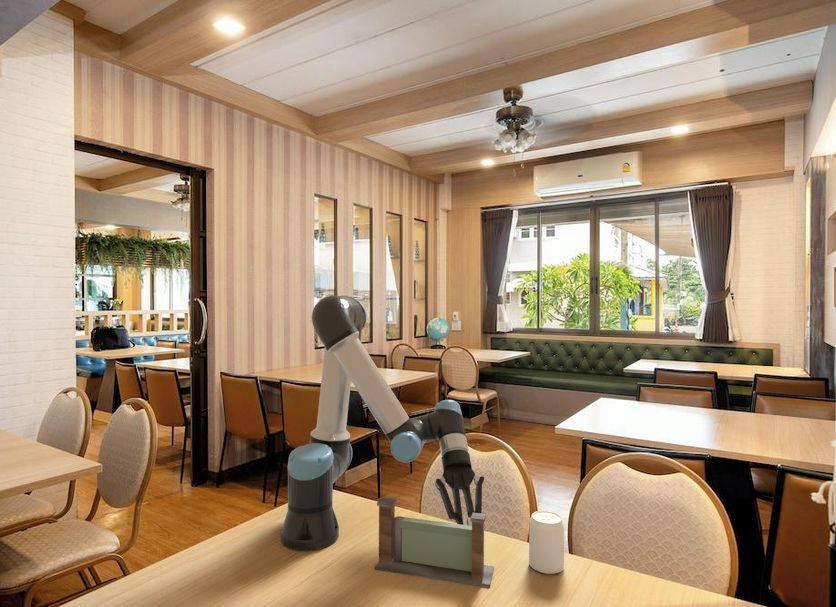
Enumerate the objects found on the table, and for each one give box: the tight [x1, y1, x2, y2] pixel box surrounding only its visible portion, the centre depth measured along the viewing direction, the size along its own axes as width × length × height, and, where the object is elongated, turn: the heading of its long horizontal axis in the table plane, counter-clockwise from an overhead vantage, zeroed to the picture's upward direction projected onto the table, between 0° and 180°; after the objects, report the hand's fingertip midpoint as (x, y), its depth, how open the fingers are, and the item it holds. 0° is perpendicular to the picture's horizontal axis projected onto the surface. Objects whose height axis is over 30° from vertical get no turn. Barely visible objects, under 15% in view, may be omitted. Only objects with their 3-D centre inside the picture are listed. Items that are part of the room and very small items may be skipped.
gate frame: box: [374, 496, 495, 588], centre depth 118 cm, size 8×28×15 cm, turn 75°
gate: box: [394, 515, 472, 572], centre depth 118 cm, size 2×22×10 cm, turn 74°
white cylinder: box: [528, 510, 565, 575], centre depth 120 cm, size 8×8×12 cm
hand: (470, 547), depth 118 cm, fingers closed
